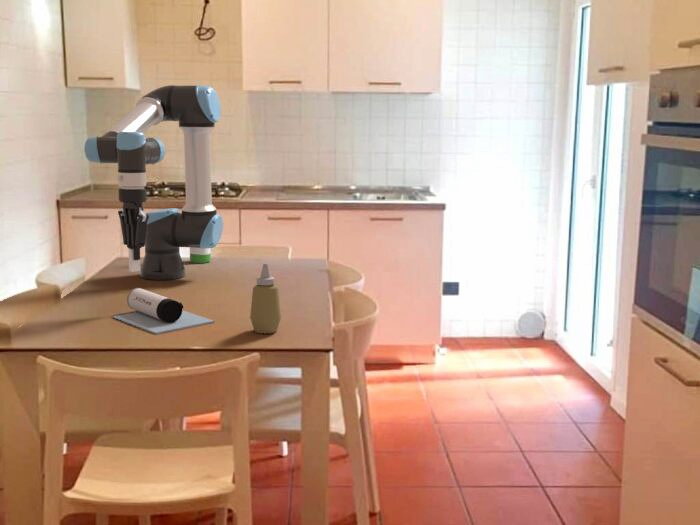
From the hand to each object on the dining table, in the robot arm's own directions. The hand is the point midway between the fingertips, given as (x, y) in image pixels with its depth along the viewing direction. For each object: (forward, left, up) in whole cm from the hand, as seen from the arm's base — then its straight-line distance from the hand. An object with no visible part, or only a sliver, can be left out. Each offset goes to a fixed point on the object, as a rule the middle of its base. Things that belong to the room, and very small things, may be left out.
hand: (134, 270), depth 224 cm
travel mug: (0, 0, -8) cm, 8 cm away
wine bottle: (-52, +57, -12) cm, 78 cm away
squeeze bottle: (+41, +14, -12) cm, 45 cm away
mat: (+14, 0, -12) cm, 18 cm away
